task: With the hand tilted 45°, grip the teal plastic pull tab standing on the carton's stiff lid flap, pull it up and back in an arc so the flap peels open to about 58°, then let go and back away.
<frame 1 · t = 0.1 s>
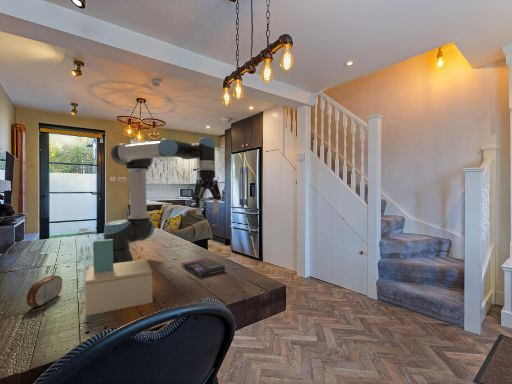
hand: (207, 213, 130), 28 cm above the table, tool pointing down, fingers open, 13 cm apart
box: (203, 271, 132), on the table
carton: (120, 299, 98), on the table
flap: (119, 255, 98), point 16 cm above the table, hinge at 0.0°
tin: (46, 302, 97), on the table
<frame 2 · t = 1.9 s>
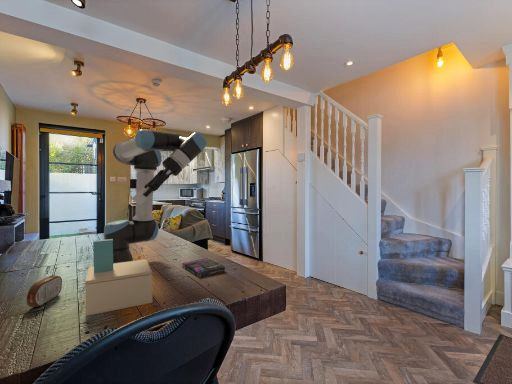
hand: (135, 201, 100), 36 cm above the table, tool tilted 45°, fingers open, 13 cm apart
nothing on the table moved.
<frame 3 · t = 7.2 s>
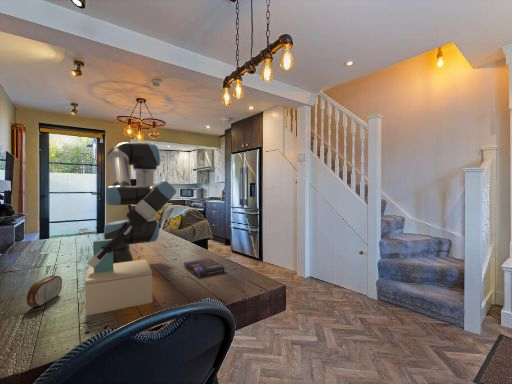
hand: (90, 264, 94), 14 cm above the table, tool tilted 45°, fingers closed on flap, 2 cm apart
flap: (119, 255, 98), point 16 cm above the table, hinge at 0.1°, touching gripper
everything else where it was.
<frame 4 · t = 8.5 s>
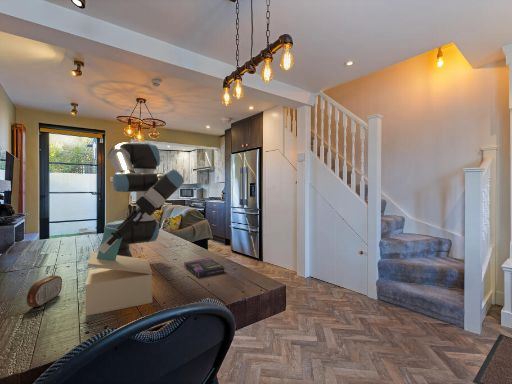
hand: (100, 250, 95), 19 cm above the table, tool tilted 45°, fingers closed on flap, 2 cm apart
flap: (125, 247, 99), point 19 cm above the table, hinge at 16.2°, touching gripper
everything else where it was.
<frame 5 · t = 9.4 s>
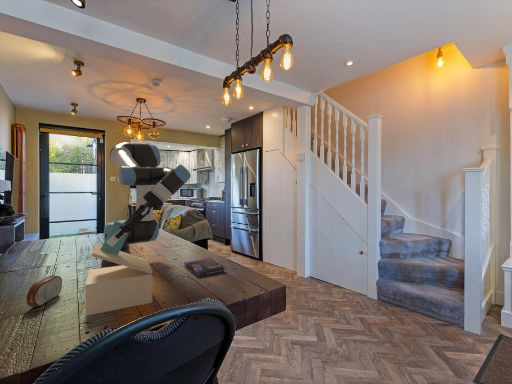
hand: (109, 243, 96), 21 cm above the table, tool tilted 45°, fingers closed on flap, 2 cm apart
flap: (129, 243, 99), point 20 cm above the table, hinge at 26.0°, touching gripper
everything else where it was.
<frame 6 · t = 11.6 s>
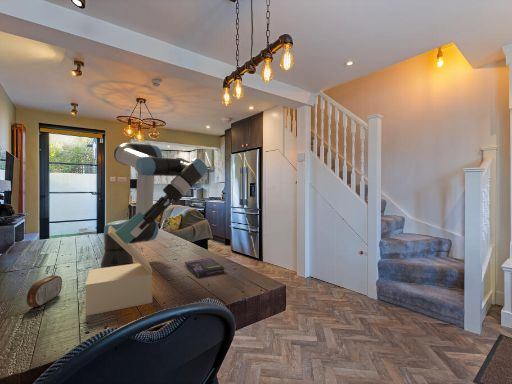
hand: (132, 233, 100), 24 cm above the table, tool tilted 45°, fingers open, 5 cm apart
flap: (141, 237, 101), point 22 cm above the table, hinge at 49.6°
everything else where it was.
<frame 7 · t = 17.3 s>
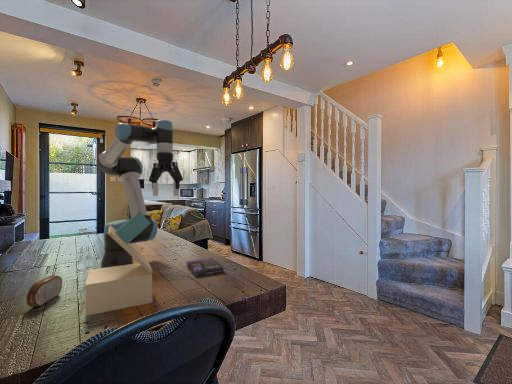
hand: (165, 196, 131), 37 cm above the table, tool pointing down, fingers open, 13 cm apart
at the end: flap at +50° (first picture: +0°); the gripper is holding nothing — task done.
